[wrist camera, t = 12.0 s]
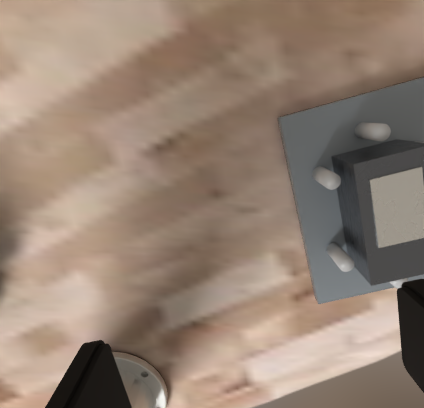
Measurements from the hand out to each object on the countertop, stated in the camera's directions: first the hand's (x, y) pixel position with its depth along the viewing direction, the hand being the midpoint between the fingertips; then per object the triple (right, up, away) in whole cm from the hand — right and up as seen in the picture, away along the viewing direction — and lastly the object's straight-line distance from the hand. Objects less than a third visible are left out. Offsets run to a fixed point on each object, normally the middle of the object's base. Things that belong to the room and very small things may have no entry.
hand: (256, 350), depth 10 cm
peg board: (+14, +5, +22) cm, 26 cm away
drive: (+14, +5, +20) cm, 25 cm away
